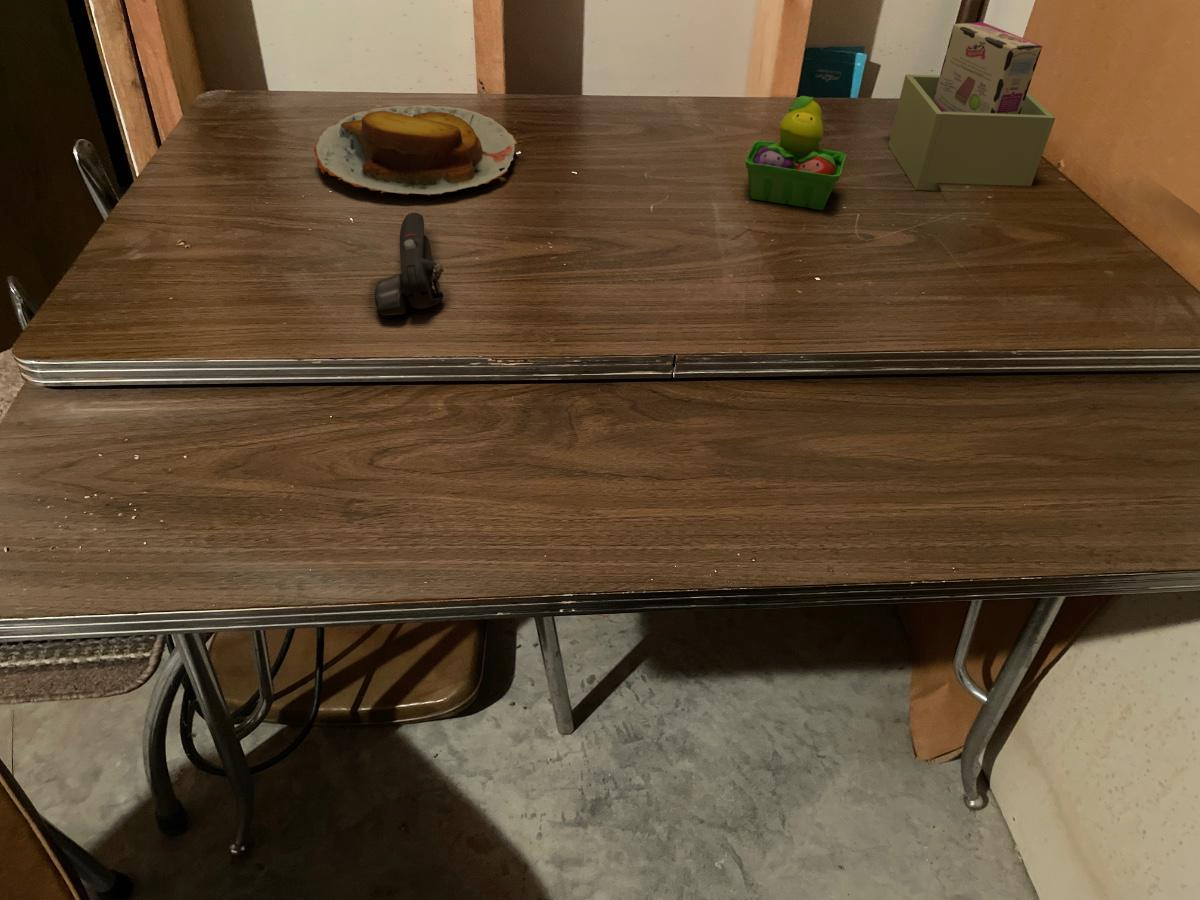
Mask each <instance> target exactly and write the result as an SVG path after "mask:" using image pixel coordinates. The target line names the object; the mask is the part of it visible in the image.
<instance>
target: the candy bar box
mask: <svg viewBox="0 0 1200 900" xmlns="http://www.w3.org/2000/svg"><path fill="white" fill-rule="evenodd" d="M1042 49H1043V45H1041V44H1039V43H1036V42H1033V41H1031V40H1029V39H1026V38H1024V37H1021V36H1018V35H1016V34H1013V33H1011V32H1009V31H1006V30H1004V29H1001V28H999V27H996V26H994V25H991V24H988V23H986V22H983V21H975V22H964V23H954V24H952V29H951V33H950V37H949V40H948V44H947V48H946V51H945V55H944V59H943V63H942V66H941V70H940V74H939V76H940V77H939V81H938V84H937V88H936V92H935V95H934V99H933V102H934V103H935V105H936V106H937V107H938V108H939V109H940V111H941V112H968V113H996V114H1020V112H1021V109H1022V106H1023V104H1024V101H1025V98H1026V94H1027V92H1028V93H1029V88H1030V85H1031V82H1032V80H1033V79H1032V78H1033V76H1034V74H1035V70H1036V68H1037V64H1038V61H1039V58H1040V55H1041V52H1042Z"/></svg>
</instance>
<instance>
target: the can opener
mask: <svg viewBox="0 0 1200 900" xmlns="http://www.w3.org/2000/svg"><path fill="white" fill-rule="evenodd" d="M399 257H400V273H396V274H393V275H391V276H388V277H386V278H383V279H380V280H378V282H377V283H376V285H375V289H374V293H373V295H374V303H375V306H376V309H377V311H378V312H379V314H380V315H381V316H390V315H392V316H393V315H404V314H406V312H407V311H408V308H409V304H410V306H411V307H412V308H414V309H417V310H425V309H427V308H431V307H433V306H435V305H437V304H438V303H440V302H441V301H443V299H444V293H443V292H442V291H441V287H440V286H441V285H440V282H439V280H440V278H441V275H442V274H443V273H444V272H445V271H446V269H445V268H443V261H442V260H440V261H439V263H437V259H433V260H432V249H431V242H430V239H429V237H428V236H427V235H426V234H425V220H424V215H423V214H420V213H418V212H410V213H408V214H407V215H406V216H404V219H403V220H402V223H401V226H400V232H399Z"/></svg>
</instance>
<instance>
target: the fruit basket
mask: <svg viewBox="0 0 1200 900" xmlns="http://www.w3.org/2000/svg"><path fill="white" fill-rule="evenodd" d="M788 110H789V111H788V113H787V114H786V115H785V116H784V117H782V120H781V121H780V123H779V129H780V130H779V135H780V137H779V139H780V142H775V141H766V140H757V141H755V142H753V144H752V146H751V148H750V149H749V152H748V153H747V155H746V157H745V159H744V161H745V168H746V169H747V177H748V178H747V179H748V186H749V187H748V188H749V195H750V199H751V200H756V201H765V202H766V201H767V202H769V203H774V204H781V205H782V204H783V205H785V204H787V205H789V206H794V207H798V208H799V207H800V208H808V209H811V210H819V211H823V210H824V208H825V207H826V204H827V202H828V200H829V198H830V197H831V193H832V191H833V189H834V187H835V185H836V183H837V182H838V181H839V179H840V177H841V176H842V170H843V166H844V163H845V161H846V159H847V155H846V153H844V152H842V151H837V150H836V151H835V150H831V149H830V150H829V149H824V148H819V145H820V144H819V143H820V142H821V141H822V139H823V136H824V124H823V120H822V117H823V112H822V111H823V110H822V108H821V106H820V104H819V103H818V102H816V101H815V97H814V96H808V95H800V96H798V97H797V98H796V99H794V102H793V104H792V106H791V107H789V109H788Z"/></svg>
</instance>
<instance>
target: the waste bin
mask: <svg viewBox="0 0 1200 900" xmlns="http://www.w3.org/2000/svg"><path fill="white" fill-rule="evenodd" d="M939 77H940V74H939V75H935V74H907V73H906V74H905V75H904V79H903V83H902V87H901V92H900V95H899V99H898V100H899V101H898V104H897V108H896V112H895V117H894V119H893V120H894V121H893V124H892V128H891V132H890V137H889V141H888V145H887V147H888V149H889V150H890V152H891V153H892V155H893V156H894V158H895V159H896V161H897V162H898V164H899V166H900V167H901V169H902V170H903V172H904V173H905V175H906V176H907V179H908V180H909V181H910V183H911V184H912V186H913V188H914V190H915V191H931V192H932V191H934V192H943V190H942V188H941V186H940V185H939V184H956V185H957V184H959V185H985V186H987V185H989V186H1014V187H1015V186H1017V187H1032V185H1033V182H1034V179H1035V177H1036V174H1037V171H1038V169H1039V165H1040V163H1041V159H1042V157H1043V155H1044V151H1045V148H1046V146H1047V143H1048V140H1049V136H1050V134H1051V131H1052V129H1053V127H1054V124H1055V121H1056V116H1054V115H1053V114H1052V113H1051V112H1050V111H1049V110H1048V109H1047V108H1046V107H1045V106H1044V105H1042V104H1041V103H1040V102H1039V100H1037V99H1036V98H1035V97H1034V96H1033V95H1032V94H1031V93H1030V92H1029V91H1028V92H1027V94H1026V98H1025V101H1024V104H1023V106H1022V109H1021V112H1020V114H996V113H968V112H941V111H940V109H939V108H938V107H937V106H936V105H935V103H934V102H933V99H934V95H935V92H936V88H937V84H938V81H939Z"/></svg>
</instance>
